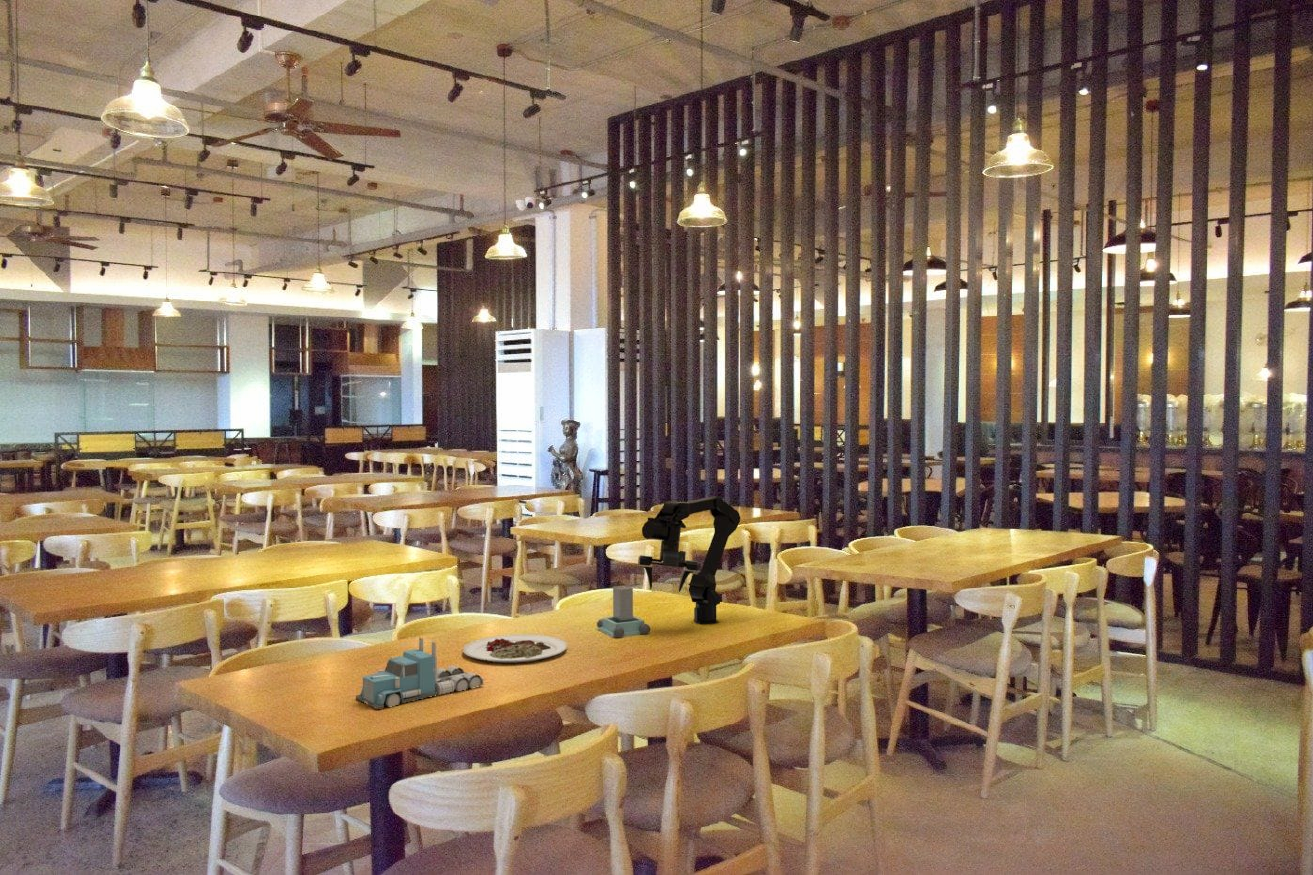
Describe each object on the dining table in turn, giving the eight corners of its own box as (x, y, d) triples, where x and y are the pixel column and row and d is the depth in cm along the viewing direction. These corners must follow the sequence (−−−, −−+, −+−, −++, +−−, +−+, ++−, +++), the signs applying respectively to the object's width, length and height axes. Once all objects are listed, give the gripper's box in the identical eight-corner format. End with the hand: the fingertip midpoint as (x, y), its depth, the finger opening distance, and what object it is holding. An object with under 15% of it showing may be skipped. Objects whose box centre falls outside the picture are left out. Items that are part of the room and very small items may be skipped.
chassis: (631, 625, 312) (631, 613, 312) (650, 634, 300) (650, 621, 300) (596, 629, 306) (596, 617, 306) (614, 638, 294) (614, 625, 294)
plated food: (548, 669, 261) (548, 657, 261) (445, 663, 267) (445, 651, 267) (579, 642, 290) (579, 631, 290) (486, 638, 296) (486, 627, 296)
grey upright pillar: (626, 626, 306) (625, 585, 306) (632, 629, 302) (632, 588, 302) (613, 627, 304) (613, 587, 304) (620, 631, 300) (619, 589, 300)
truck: (354, 700, 234) (354, 639, 233) (459, 678, 253) (458, 622, 252) (376, 712, 225) (376, 648, 224) (483, 688, 244) (483, 629, 243)
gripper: (644, 538, 297) (638, 589, 295) (703, 545, 299) (697, 595, 297) (640, 537, 308) (635, 586, 306) (697, 543, 310) (692, 592, 308)
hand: (665, 590), depth 304 cm, fingers open, 9 cm apart
